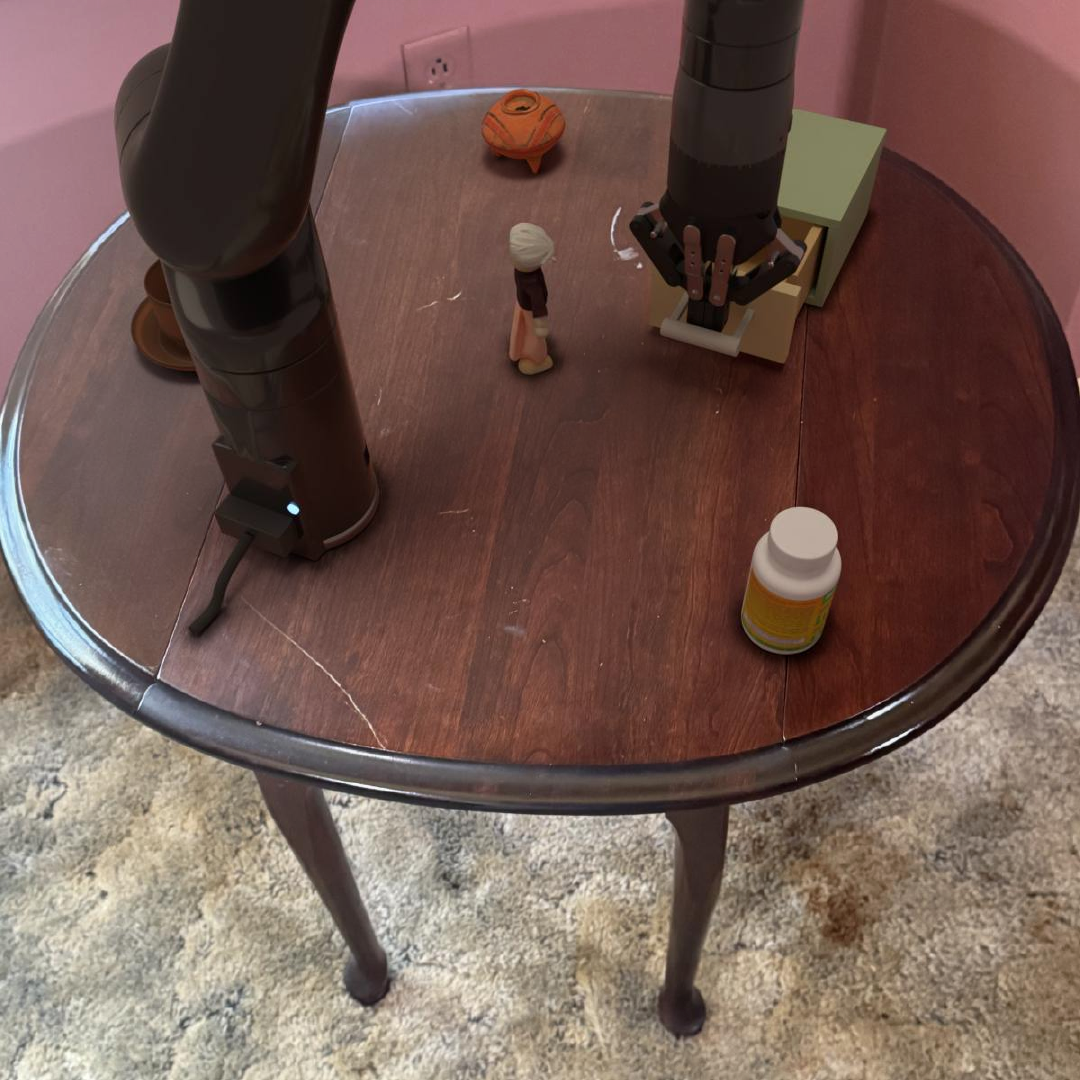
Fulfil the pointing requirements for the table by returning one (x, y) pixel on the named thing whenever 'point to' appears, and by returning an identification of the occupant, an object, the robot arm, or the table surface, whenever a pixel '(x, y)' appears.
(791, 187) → the cabinet
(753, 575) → the supplement bottle
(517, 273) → the grandmother figurine
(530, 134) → the pot
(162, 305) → the cup and saucer
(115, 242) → the table surface
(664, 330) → the drawer
